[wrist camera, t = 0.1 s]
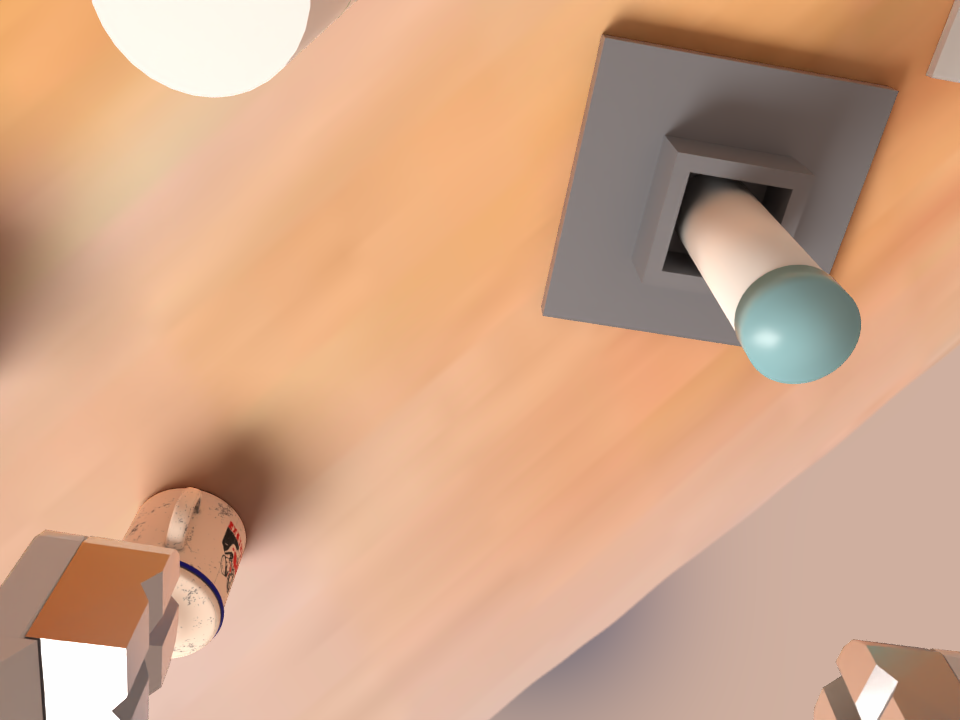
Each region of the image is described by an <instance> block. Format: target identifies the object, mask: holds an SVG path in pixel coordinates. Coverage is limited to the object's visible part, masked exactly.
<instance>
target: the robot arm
mask: <svg viewBox="0 0 960 720" xmlns="http://www.w3.org/2000/svg"><path fill="white" fill-rule="evenodd" d="M179 577H180V554H179V553H178V551H177V550H176V549H171V548H165V547H158V546H152V545H146V544H139V543H133V542H126V541H120V540H114V539H107V538H101V537H94V536H90V537H87V536H82V535H76V534H69V533H63V532H57V531H51V530H45V531H43V532H42V533H40V534H39V535H37V536H36V537H34V539H33V540H32V541H31V543H30V544H29V546H28V547H27V549H26V550H25V552H24V553H23V554H22V556H21V557H20V559H19V560H18V562H17V563H16V565H15V566H14V567H13V569H12V570H11V572H10V573H9V575H8V576H7V578H6V579H5V580H4V582H3V583H2V585H1V586H0V720H148V712H149V695H150V694H152V693H153V692H155V691H156V690H158V689H159V688H160V687H161V686H162V684H163V681H164V679H165V676H166V673H167V671H168V668H169V665H170V661H171V657H172V653H173V650H174V646H175V642H176V636H177V628H178V620H179V604H178V603H177V602H176V601H175V599H174V598H173V597H172V596H171V595H172V593H173V591H174V588H175V586H176V584H177V581H178V579H179ZM836 664H837V666H838V669H839V671H840V674H841V677H839V678H837V679H836V680H834V681H833V682H831V683H829V684H828V685H826V686H825V687H823V689H822V691H821V693H820V695H819V698H818V700H817V703H816V705H815V707H814V718H813V720H960V652H958V651H949V650H940V649H925V648H919V647H911V646H903V645H895V644H887V643H878V642H871V641H863V640H862V641H861V640H855V639H853V640H851V641H850V642H849V643H848V644H847V645H845V646H844V647H843V649H842V651H841V653H840V655H839V657H838V658H837V660H836Z"/></svg>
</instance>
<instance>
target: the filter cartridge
mask: <svg viewBox="0 0 960 720" xmlns="http://www.w3.org/2000/svg"><path fill="white" fill-rule="evenodd" d="M674 229H675V231H676V233H677V235H678V236H679V238H680V240H681V241H682V243H683V245H684V246H685V248H686V250H687V251H688V253H689V255H690V256H691V258H692V260H693V261H694V263H695V265H696V266H697V268H698V270H699V272H700V273H701V275H702V277H703V278H704V280H705V282H706V283H707V285H708V287H709V288H710V290H711V292H712V293H713V295H714V297H715V298H716V300H717V302H718V303H719V305H720V307H721V308H722V310H723V312H724V313H725V315H726V317H727V318H728V320H729V322H730V323H731V325H732V327H733V328H734V330H735V333H736V336H737V339H738V341H739V342H740V344H741V346H742V348H743V349H744V351H745V353H746V354H747V356H748V358H749V359H750V361H751V363H752V364H753V366H754V367H755V368H756V369H757V370H758V371H759V372H760V373H761V374H763V375H764V376H765V377H767V378H769V379H771V380H774V381H777V382H781V383H786V384H801V383H807V382H811V381H815V380H817V379H820V378H822V377H824V376H826V375H828V374H830V373H831V372H833V371H835V370H836V369H837V368H838V367H840V366H841V365H842V364H843V363H844V362H845V361H846V360H847V358H848V357H849V356H850V355H851V353H852V352H853V350H854V348H855V346H856V344H857V342H858V339H859V336H860V330H861V318H860V313H859V310H858V307H857V305H856V303H855V302H854V300H853V299H852V298H851V297H850V295H849V294H848V293H847V292H846V291H845V290H844V289H843V288H842V287H841V286H840V285H839V284H838V283H837V282H836V281H835V279H834V278H833V277H832V276H830V275H829V274H828V273H826V272H825V271H823V270H822V269H821V268H820V267H819V266H818V264H817V263H816V262H815V261H814V260H813V259H812V258H811V257H810V256H809V255H808V254H807V253H806V252H805V250H804V249H803V248H802V247H801V246H800V245H799V244H798V243H797V242H796V241H795V240H794V239H793V238H792V236H791V235H790V234H789V233H788V232H787V231H786V230H785V229H784V228H783V227H782V226H781V225H780V224H779V222H778V221H777V220H776V219H775V218H774V217H773V216H772V215H771V214H770V213H769V212H768V211H767V209H766V208H765V207H764V206H763V205H762V204H761V203H760V202H759V201H758V200H757V199H756V198H755V197H754V195H753V194H752V193H751V192H750V191H749V190H748V189H747V188H746V187H745V186H744V185H743V184H742V183H741V182H740V180H734V179H728V178H722V177H716V176H710V175H704V174H699V175H697V176H695V177H693V178H691V179H690V180H688V181H687V185H686V188H685V192H684V195H683V199H682V202H681V206H680V209H679V213H678V216H677V220H676V223H675V227H674Z"/></svg>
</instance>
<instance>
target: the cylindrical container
mask: <svg viewBox="0 0 960 720" xmlns="http://www.w3.org/2000/svg"><path fill="white" fill-rule="evenodd" d="M356 1H357V0H92V3H93V6H94V8H95V10H96V12H97V15H98V17H99V19H100V21H101V24H102V26H103V27H104V29H105V30H106V32H107V33H108V35H109V36H110V38H111V40H112V41H113V43H114V44H115V46H116V47H117V48H118V49H119V50H120V51H121V52H122V53H123V54H124V55H125V56H126V58H127V59H128V60H129V61H130V62H131V63H132V64H133V65H135V66H136V67H137V68H139V69H140V70H141V71H142V72H144V73H145V74H146V75H148V76H149V77H150V78H152V79H154V80H156V81H157V82H159V83H161V84H163V85H165V86H167V87H169V88H171V89H174V90H177V91H180V92H184V93H187V94H190V95H194V96H204V97H225V96H234V95H237V94H241V93H244V92H247V91H251V90H253V89H254V88H256V87H258V86H260V85H262V84H264V83H266V82H268V81H269V80H270V79H271V78H272V77H274V76H275V75H276V74H277V73H278V72H279V71H280V70H282V69H283V68H284V67H285V66H286V65H287V64H288V63H289V62H291V61H292V60H293V59H294V58H295V57H296V56H297V55H298V54H299V53H300V52H302V51H303V50H304V49H305V48H306V47H307V46H308V45H309V44H310V43H311V42H313V41H314V40H315V39H316V38H317V37H318V36H319V35H320V34H321V33H322V32H324V31H325V30H326V29H327V28H328V27H329V26H330V25H331V24H332V23H333V22H334V21H336V20H337V19H338V18H339V17H340V16H341V15H342V14H343V13H344V12H345V11H346V10H347V9H349V8H350V7H351V6H352V5H353V4H354V3H355V2H356Z"/></svg>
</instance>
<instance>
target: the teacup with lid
mask: <svg viewBox="0 0 960 720" xmlns="http://www.w3.org/2000/svg"><path fill="white" fill-rule="evenodd" d="M122 541H126V542H133V543H139V544H146V545H152V546H158V547H165V548H171V549H176V550H177V551H178V553H179V554H180V577H179V579H178V581H177V584H176V586H175V588H174V591H173V593H172V595H171V596H172V597H173V598H174V599H175V601H176V602H177V603H178V604H179V620H178V628H177V636H176V642H175V646H174V650H173V653H172V657H171V658H178V657H183V656H186V655H189V654H192V653H194V652H196V651H198V650H200V649H201V648H203V647H204V646H206V645H207V644H208V643H209V642H210V641H211V640H212V639H213V638H214V637H215V636H216V634H217V633H218V631H219V630H220V627H221V625H222V622H223V618H224V606H225V603H226V600H227V598H228V595H229V592H230V589H231V586H232V583H233V580H234V578H235V575H236V572H237V569H238V566H239V563H240V560H241V558H242V555H243V552H244V549H245V544H246V533H245V529H244V526H243V523H242V521H241V519H240V517H239V516H238V514H237V513H236V512H235V511H234V509H233V508H232V507H231V506H229V505H228V504H227V503H226V502H224V501H223V500H221V499H220V498H218V497H216V496H214V495H212V494H210V493H207V492H204V491H201V490H199V489H196V488H192V487H188V488H177V489H170V490H166V491H163V492H160V493H158V494H156V495H154V496H152V497H151V498H149V499H148V500H147V501H146V502H145V503H144V504H143V505H142V506H141V508H140V509H139V511H138V512H137V514H136V516H135V518H134V520H133V522H132V523H131V525H130V527H129V529H128V531H127V533H126V534H125V536H124V538H123V540H122Z"/></svg>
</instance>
